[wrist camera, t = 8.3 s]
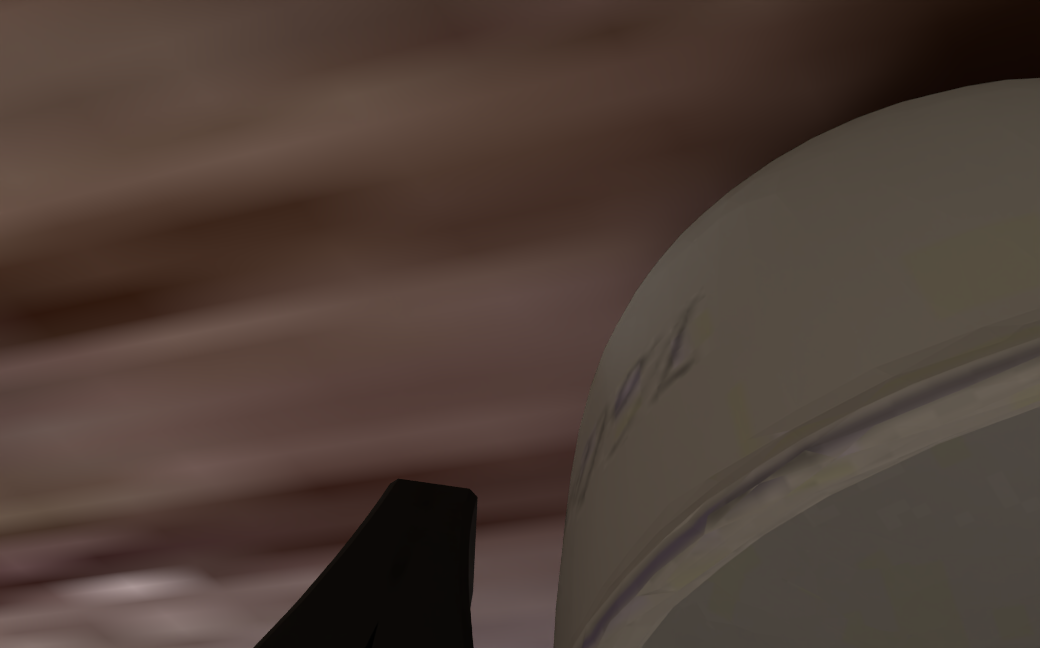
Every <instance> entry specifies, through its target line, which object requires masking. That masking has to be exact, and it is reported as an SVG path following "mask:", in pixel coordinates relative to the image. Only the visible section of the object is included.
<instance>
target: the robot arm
mask: <svg viewBox="0 0 1040 648" xmlns="http://www.w3.org/2000/svg"><path fill="white" fill-rule="evenodd" d="M476 518H477V496H476V495H475V494H474V493H473V492H472V491H471V490H470V489H467V488H460V487H453V486H446V485H439V484H432V483H425V482H418V481H411V480H403V479H397V480H396V481H394V482H392V483H391V484H390V485H389V486H388V488H387V489H386V491H385V492H384V494H383V495H382V497H381V498H380V499H379V501H378V502H377V504H376V505H375V506H374V508H373V509H372V510H371V512H370V513H369V515H368V516H367V517H366V519H365V520H364V521H363V523H362V524H361V525H360V527H359V528H358V529H357V530H356V532H355V533H354V534H353V536H352V537H351V538H350V539H349V541H348V542H347V543H346V544H345V546H344V547H343V548H342V549H341V551H340V552H339V553H338V554H337V556H336V557H335V558H334V559H333V560H332V562H331V563H330V564H329V565H328V566H327V567H326V569H325V570H324V571H323V572H322V573H321V574H320V576H319V577H318V578H317V579H316V580H315V581H314V583H313V584H312V585H311V586H310V587H309V588H308V590H307V591H306V592H305V593H304V594H303V595H302V597H301V598H300V599H299V600H298V601H297V602H296V603H295V604H294V605H293V607H292V608H291V609H290V610H289V611H288V612H287V613H286V614H285V615H284V616H283V617H282V618H281V619H280V620H279V621H278V623H277V624H276V625H275V626H274V627H273V628H272V629H271V630H270V631H269V632H268V633H267V634H266V635H265V636H264V637H263V638H262V639H261V640H260V641H259V642H258V643H257V644H256V646H255V647H254V648H474V647H473V638H472V625H471V612H470V607H471V600H472V594H473V580H474V559H475V539H476Z"/></svg>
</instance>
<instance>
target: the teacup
mask: <svg viewBox="0 0 1040 648" xmlns="http://www.w3.org/2000/svg"><path fill="white" fill-rule="evenodd" d="M554 648H1040V78H1031V79H1013V80H1002V81H996V82H989V83H983V84H977V85H971V86H966V87H962V88H957V89H953V90H949V91H945V92H940V93H936V94H932V95H928V96H924V97H920V98H916V99H912V100H908V101H904V102H900V103H897V104H895V105H892V106H889V107H886V108H883V109H881V110H878V111H875V112H872V113H869V114H867V115H864V116H861V117H858V118H855V119H853V120H851V121H849V122H847V123H844V124H842V125H840V126H838V127H836V128H833V129H831V130H829V131H827V132H825V133H823V134H820V135H818V136H816V137H814V138H812V139H810V140H808V141H807V142H805V143H803V144H801V145H800V146H798V147H796V148H794V149H793V150H791V151H789V152H787V153H786V154H784V155H782V156H780V157H779V158H777V159H775V160H773V161H772V162H770V163H769V164H767V165H766V166H765V167H763V168H762V169H760V170H759V171H757V172H756V173H755V174H753V175H752V176H750V177H749V178H747V179H746V180H745V181H743V182H742V183H740V184H739V185H737V186H736V187H735V188H733V189H732V190H730V191H729V192H728V193H727V194H726V195H725V196H723V197H722V198H721V199H720V200H719V201H717V202H716V203H715V204H714V205H713V206H712V207H710V208H709V209H708V210H707V211H706V212H705V213H703V214H702V215H701V216H700V217H699V218H698V219H697V220H696V221H695V222H694V223H693V224H692V225H691V226H690V227H688V228H687V229H686V230H685V231H684V232H683V233H682V234H681V235H680V236H679V237H678V239H677V240H676V241H675V242H674V243H673V244H672V246H671V247H670V248H669V249H668V250H667V251H666V253H665V254H664V255H663V256H662V257H661V259H660V260H659V261H658V262H657V264H656V265H655V266H654V268H653V269H652V270H651V271H650V273H649V274H648V275H647V277H646V278H645V280H644V281H643V282H642V284H641V285H640V287H639V288H638V290H637V291H636V293H635V294H634V296H633V298H632V300H631V301H630V303H629V305H628V307H627V308H626V310H625V312H624V313H623V315H622V317H621V319H620V320H619V322H618V324H617V326H616V328H615V330H614V332H613V334H612V335H611V337H610V339H609V341H608V343H607V345H606V347H605V349H604V352H603V355H602V358H601V360H600V363H599V366H598V368H597V371H596V374H595V377H594V379H593V382H592V385H591V388H590V392H589V396H588V399H587V403H586V407H585V411H584V414H583V418H582V422H581V425H580V429H579V434H578V440H577V445H576V451H575V457H574V462H573V468H572V474H571V480H570V488H569V496H568V504H567V512H566V520H565V529H564V538H563V548H562V557H561V566H560V575H559V584H558V594H557V603H556V616H555V633H554Z"/></svg>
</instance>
